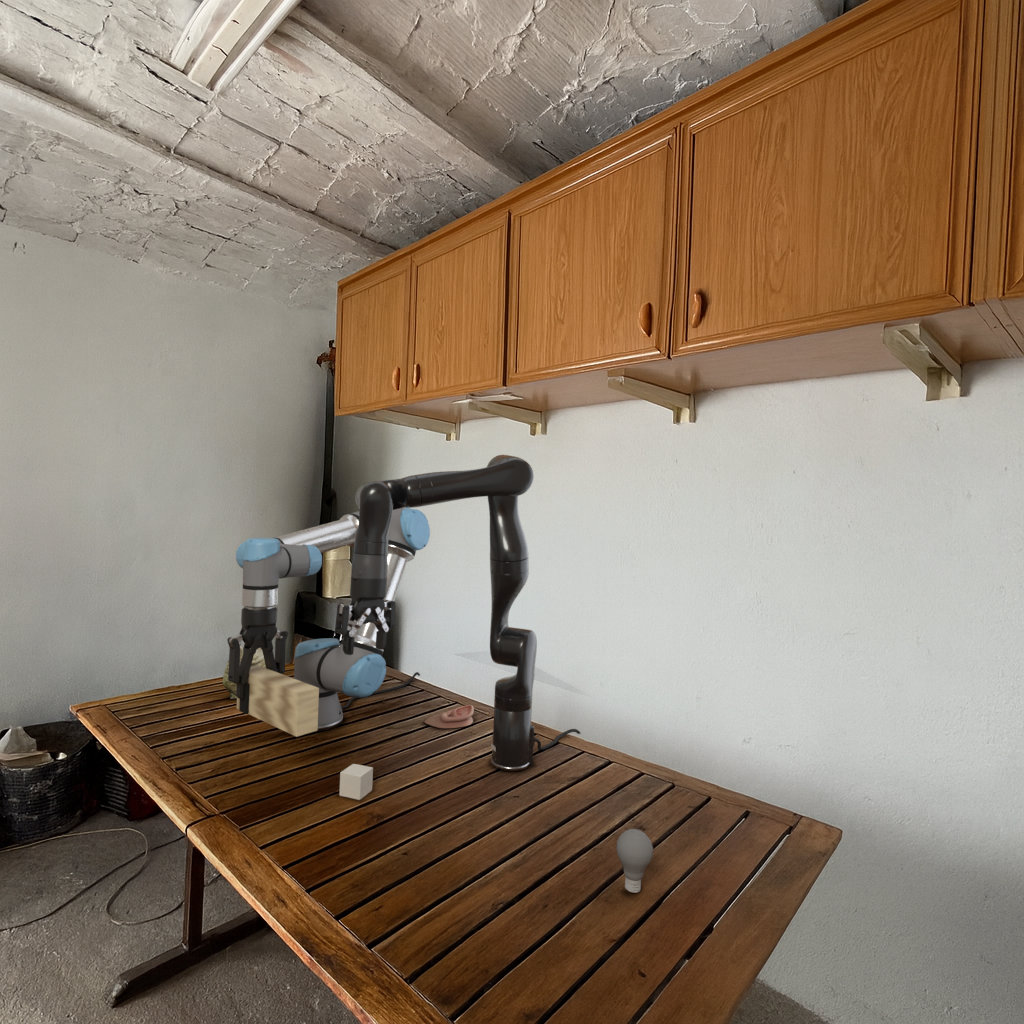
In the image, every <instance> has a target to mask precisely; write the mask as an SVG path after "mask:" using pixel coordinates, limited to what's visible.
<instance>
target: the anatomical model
mask: <svg viewBox="0 0 1024 1024" xmlns="http://www.w3.org/2000/svg"><path fill="white" fill-rule="evenodd" d="M474 713H475V707H474V706H473V705H472V704H467V705H462V706H459V707H454V708H452V709H450V710H447V711H444V712H441V713H437V714H434V715H432V716H429V717H428V718H426V719H425V720H424V723H425V724H426V725H429V726H431V727H434V728H437V729H457V728H463V727H468V726H470V725H472V724H473V723H474V718H473V717H472V716H473V715H474Z"/></svg>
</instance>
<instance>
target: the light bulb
mask: <svg viewBox="0 0 1024 1024" xmlns="http://www.w3.org/2000/svg"><path fill="white" fill-rule="evenodd" d="M615 849H616V854H617V857H618V859H619V861H620V863H621V865H622V867H623V873H624V874H623V875H624V876H625V878H624V888H625V890H627V891H628V892H630V893H634V894H635V893H639V892H640V891H641V889H642V887H641V886H642V879H643V877H644V875H645V871H646V868H647V867H648V866H649V864H650V863H651V861H652V859H653V855H654V847H653V843H652V841H651V838H649V836H648V835H647V834H646V833H645V832H643V831H642V830H641V829H636V828H629V829H627V830H625V831H623V832H622V833H621V834H620V835H619V837H618V839H617V841H616V847H615Z"/></svg>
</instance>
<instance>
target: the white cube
mask: <svg viewBox="0 0 1024 1024" xmlns="http://www.w3.org/2000/svg"><path fill="white" fill-rule="evenodd" d="M373 775H374V767H373V766H369V765H362V764H357V763H351V764H350V765H349V766H348V767H346V768H344V769H343V770H341V772H340V773H339V794H338V795H339V797H344V798H348V799H352V800H357V801H361V800H362V799H363V798H364V797H366V796H367V795H369V794H370V793H371V792H372V791H373V783H374V781H373V779H374V778H373V777H374V776H373Z"/></svg>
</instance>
